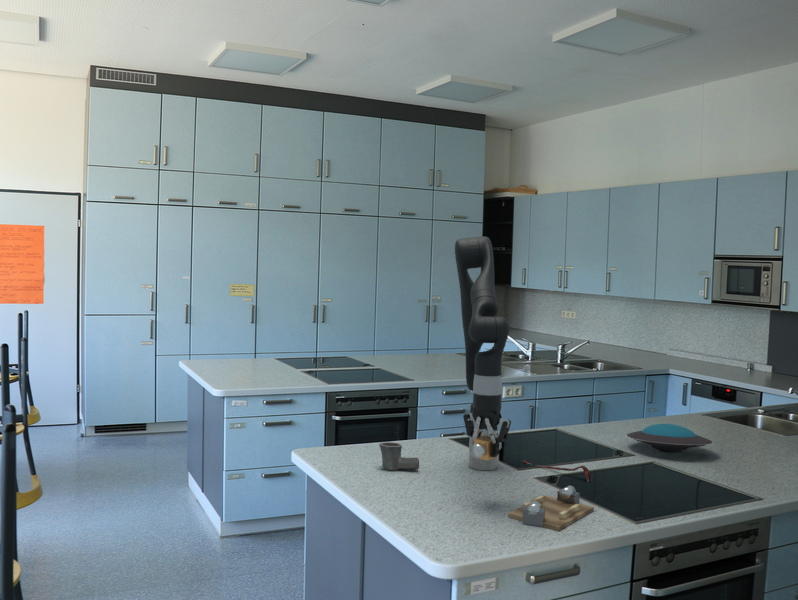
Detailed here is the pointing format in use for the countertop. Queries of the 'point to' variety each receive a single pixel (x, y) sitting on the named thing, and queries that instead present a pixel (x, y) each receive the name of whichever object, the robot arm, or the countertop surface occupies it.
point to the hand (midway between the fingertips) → (485, 454)
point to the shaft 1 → (534, 514)
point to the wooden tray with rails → (555, 512)
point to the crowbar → (568, 470)
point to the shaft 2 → (568, 495)
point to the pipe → (396, 458)
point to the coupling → (482, 448)
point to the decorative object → (669, 438)
